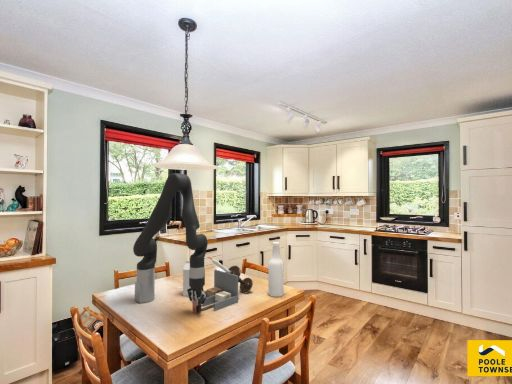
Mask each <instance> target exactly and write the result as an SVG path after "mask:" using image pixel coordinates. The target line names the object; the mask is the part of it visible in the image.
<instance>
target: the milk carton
mask: <svg viewBox="0 0 512 384" xmlns="http://www.w3.org/2000/svg"><path fill="white" fill-rule="evenodd" d="M189 269H190V260H185V264H184V266H183V268H182V280H183V281H182V296H184V297H189V296H188V292H187V289H190V288H191V287H190V286H189Z"/></svg>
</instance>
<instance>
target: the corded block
mask: <svg viewBox="0 0 512 384" xmlns="http://www.w3.org/2000/svg"><path fill="white" fill-rule="evenodd" d="M230 297H231V294H230V293H228V292H225V291H222V292H219V293H216V294H215V302H214V303H216V302H219V301H222V300H225V299H227V298H230ZM199 301H200V300H199ZM214 303H212V304H209V305H206V306H203V307H201V312H199V313H197V304H196V300H193V303H192V313H193V314H195V315H198V314H200V313H202V312H203V311H205V310H209V309H211V308H214Z"/></svg>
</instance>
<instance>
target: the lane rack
mask: <svg viewBox="0 0 512 384" xmlns="http://www.w3.org/2000/svg"><path fill="white" fill-rule="evenodd" d="M213 272H214V273H213V280H214V281H213V287H216V288H219V289H222V291H225V292H228V293H230V294H231V297H230V298H227V299H225V300H222V301H219V302H216V303H215V295H213V296H210V297H207V298H206V300H205V302H204V304H201V307H207V306H210V305H212V304H214V307H213V311H214V312H217V311H219V310H222V309H224V308H226V307H229V306H232V305H235V304H237V303H239V282H238V276H237V275H234V274H230V273H226V272H225V271H224V270H217V269H214V270H213ZM204 293H205V294H206V293H207V289H206V290H204ZM198 298H199V297H198Z"/></svg>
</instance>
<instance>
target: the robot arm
mask: <svg viewBox="0 0 512 384" xmlns="http://www.w3.org/2000/svg"><path fill="white" fill-rule="evenodd" d="M178 192H179V193H181V196H182V200H183V204H182V209H181V218H182V221H183V225H184V228H185V244H186V246H187V247H188V249H189V250H191V251H194V253H192V254H190V257H189V261H190V269H189V286H190V287H191V288H190V289H187V292H188V296H187V297H188V299H189V301H190V302H191V304H193V300H196V304H197V313H198V314H200V313H199V312H201V313H202V311H201V308H202V304H204V302H205V300H206V297H207V293H206V294H205V293H204V291H205V290H204V286H205V284H206V282H205V281H206V268H205V256H206V254H207V253H206V252H207V248H208V242H209V241H208V238H207V236H206V235H205V234H203V233H199V234H197V230H199V228H200V226H201V224H200V222H199V218H198V215H197V212H196V208H195V202H194V194H193V188H192V181H191V178H190V177H189V175H187V174H184V173H180V172H179V173H176V172H174V173H170V174H169V175H168V177H167V178H166V180H165V183H164V186H163V188H162V191H161V194H160V196H159V198H158V201H156V202H157V203H156V204H155V207H154V208H153V210H152V212H151V214H150V216H149V218H148V220H147V222H146V223H145V225H144V227H143V229H142V230H141V233H140V234H139V235H138V237H137V238H136V240H135V242H134V244H133V246H132V249H133V254H134V255H135V256H136V257H140V258H141V257H142V259H141V260H140V261H138V262H137V263H136V282H135V283H134V301H135V302H137V303H139V304H142V303H144V304H145V303H149V302H152V301H154V300H155V296H156V295H155V290H156V288H155V287H156V285H155V284H156V282H155V281H156V280H155V278H156V275H155V274H156V273H155V272H156V269H155V268H156V263H157V257H158V256H157V254H158V244H157V241H156V240H155V238H154V237H155V236H156V235H157V234H158V233H159V232H160V231H161V230H163V229H164V228H165V226H167V224H168V222H169V220H170V219H171V215H172V213H173V212H172V200H173V198H174V196H175V195H176V193H178ZM198 297H199V298H198ZM199 300H200V301H199Z"/></svg>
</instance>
